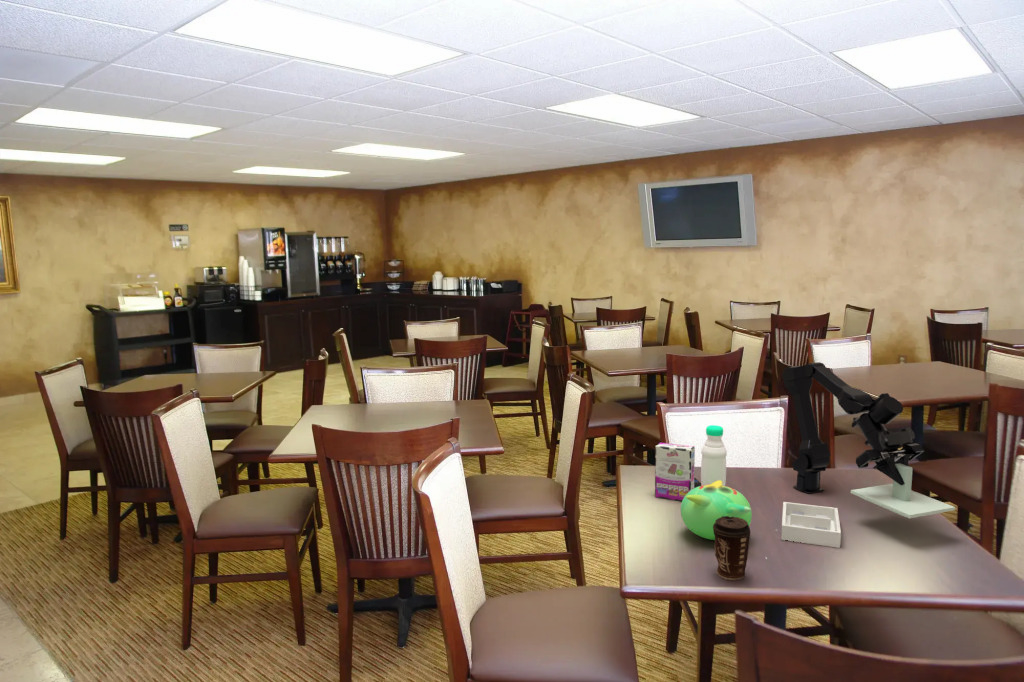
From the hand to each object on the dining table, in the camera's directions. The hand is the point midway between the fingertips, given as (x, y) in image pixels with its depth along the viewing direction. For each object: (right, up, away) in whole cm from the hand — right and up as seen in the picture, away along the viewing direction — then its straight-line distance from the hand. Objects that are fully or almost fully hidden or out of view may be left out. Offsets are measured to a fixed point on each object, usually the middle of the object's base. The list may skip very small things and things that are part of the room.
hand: (906, 484), depth 187 cm
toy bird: (-51, -14, 0) cm, 53 cm away
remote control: (-47, -8, +48) cm, 68 cm away
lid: (0, -5, +2) cm, 5 cm away
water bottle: (-46, -12, +19) cm, 51 cm away
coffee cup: (-53, -17, -20) cm, 59 cm away
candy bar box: (-55, -10, +30) cm, 63 cm away
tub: (-24, -13, +4) cm, 28 cm away
